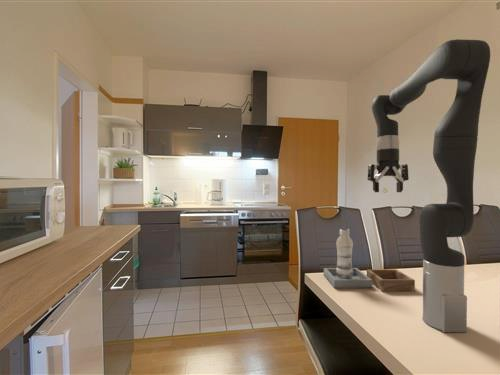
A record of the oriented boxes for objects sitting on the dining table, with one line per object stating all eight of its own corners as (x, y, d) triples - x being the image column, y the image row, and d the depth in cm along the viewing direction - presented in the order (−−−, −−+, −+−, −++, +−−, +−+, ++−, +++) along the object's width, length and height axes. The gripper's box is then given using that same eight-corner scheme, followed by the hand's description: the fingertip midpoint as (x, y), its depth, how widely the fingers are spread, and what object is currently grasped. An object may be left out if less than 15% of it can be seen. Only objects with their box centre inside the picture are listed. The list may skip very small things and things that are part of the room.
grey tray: (372, 288, 99) (372, 280, 99) (334, 288, 99) (334, 280, 99) (356, 275, 113) (356, 268, 113) (323, 275, 113) (323, 268, 113)
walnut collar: (414, 291, 96) (414, 280, 96) (381, 291, 96) (381, 280, 96) (396, 279, 108) (396, 269, 108) (366, 279, 108) (366, 269, 108)
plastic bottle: (350, 277, 109) (350, 228, 108) (355, 283, 102) (355, 231, 102) (334, 276, 110) (334, 227, 109) (337, 282, 103) (337, 230, 103)
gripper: (373, 147, 96) (374, 192, 96) (412, 147, 96) (413, 192, 96) (364, 150, 103) (364, 192, 103) (400, 150, 104) (400, 192, 104)
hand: (387, 192), depth 100 cm, fingers open, 8 cm apart
